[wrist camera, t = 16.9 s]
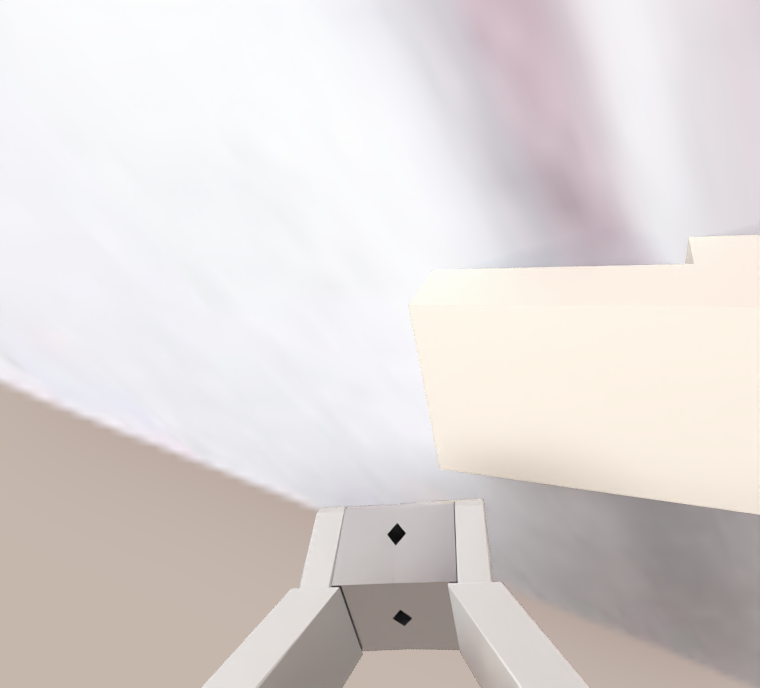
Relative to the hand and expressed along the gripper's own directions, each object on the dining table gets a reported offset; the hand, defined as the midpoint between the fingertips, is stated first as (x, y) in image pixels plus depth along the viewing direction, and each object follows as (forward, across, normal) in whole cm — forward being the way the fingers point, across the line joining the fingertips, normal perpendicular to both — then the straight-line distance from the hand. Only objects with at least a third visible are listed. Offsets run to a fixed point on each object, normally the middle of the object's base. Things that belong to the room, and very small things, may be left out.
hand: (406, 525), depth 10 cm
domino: (+5, -1, 0) cm, 5 cm away
